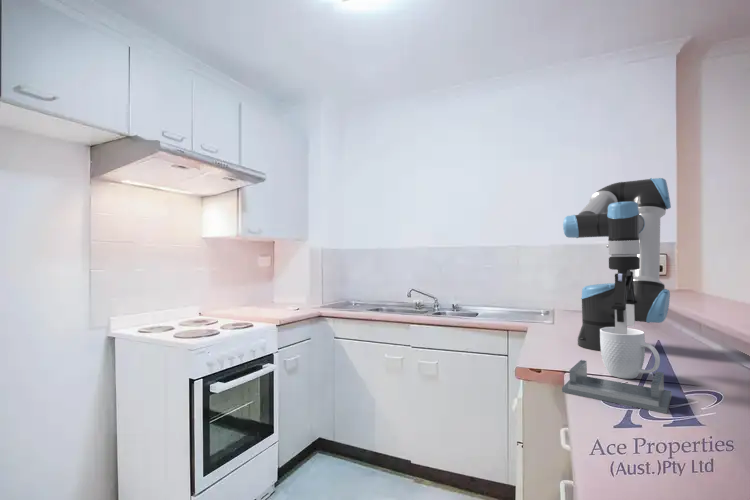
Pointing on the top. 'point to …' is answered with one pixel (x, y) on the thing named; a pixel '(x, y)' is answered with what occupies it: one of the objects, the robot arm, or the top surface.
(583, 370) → the dock
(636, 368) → the mug
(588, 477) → the top surface
